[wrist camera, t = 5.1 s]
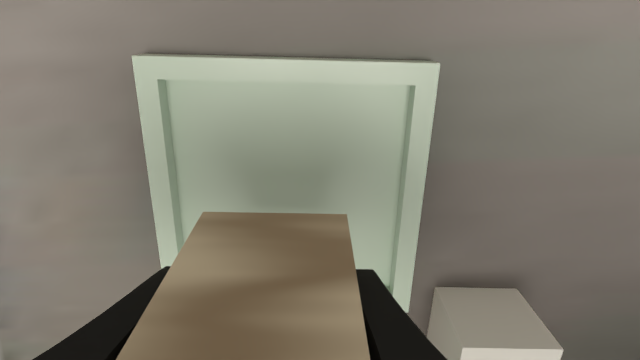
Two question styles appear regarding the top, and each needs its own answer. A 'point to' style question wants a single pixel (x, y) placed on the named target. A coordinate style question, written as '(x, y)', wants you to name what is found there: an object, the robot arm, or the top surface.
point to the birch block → (257, 293)
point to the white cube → (488, 326)
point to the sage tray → (291, 146)
